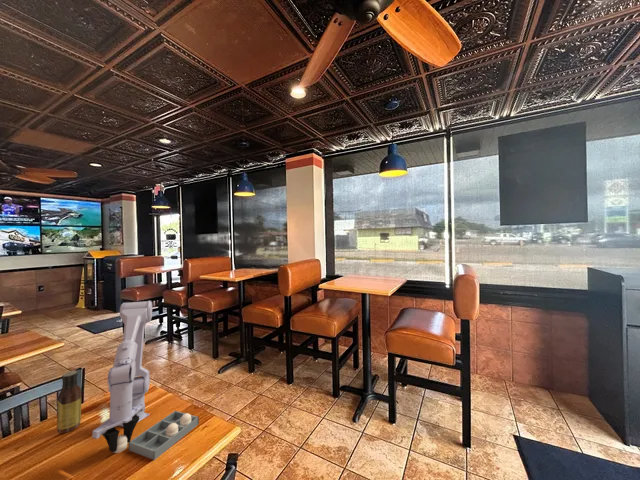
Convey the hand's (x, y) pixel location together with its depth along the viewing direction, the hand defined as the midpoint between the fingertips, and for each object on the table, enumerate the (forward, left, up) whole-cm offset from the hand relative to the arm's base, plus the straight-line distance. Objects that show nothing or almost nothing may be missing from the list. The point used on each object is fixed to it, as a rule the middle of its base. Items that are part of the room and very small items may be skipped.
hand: (120, 445), depth 81 cm
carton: (+9, +9, -1) cm, 13 cm away
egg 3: (+12, +15, -1) cm, 19 cm away
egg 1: (0, 0, -1) cm, 1 cm away
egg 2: (+12, +9, -1) cm, 15 cm away
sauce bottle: (-29, +1, -2) cm, 29 cm away
